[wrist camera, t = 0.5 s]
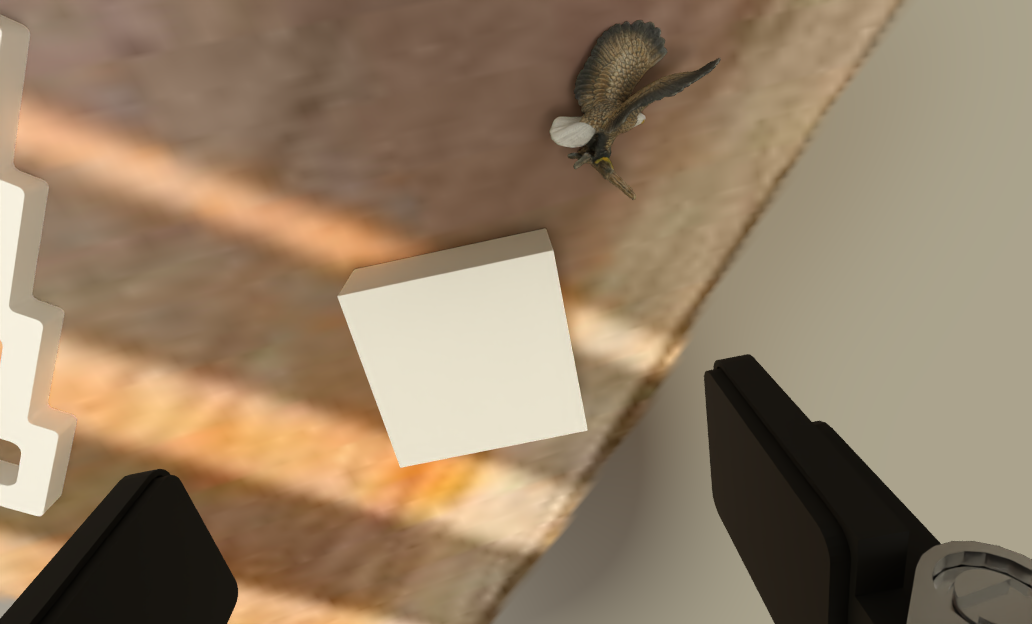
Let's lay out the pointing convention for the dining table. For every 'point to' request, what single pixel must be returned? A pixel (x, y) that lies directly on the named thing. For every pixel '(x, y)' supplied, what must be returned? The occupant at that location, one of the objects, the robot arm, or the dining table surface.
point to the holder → (25, 313)
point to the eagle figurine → (617, 94)
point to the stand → (466, 347)
